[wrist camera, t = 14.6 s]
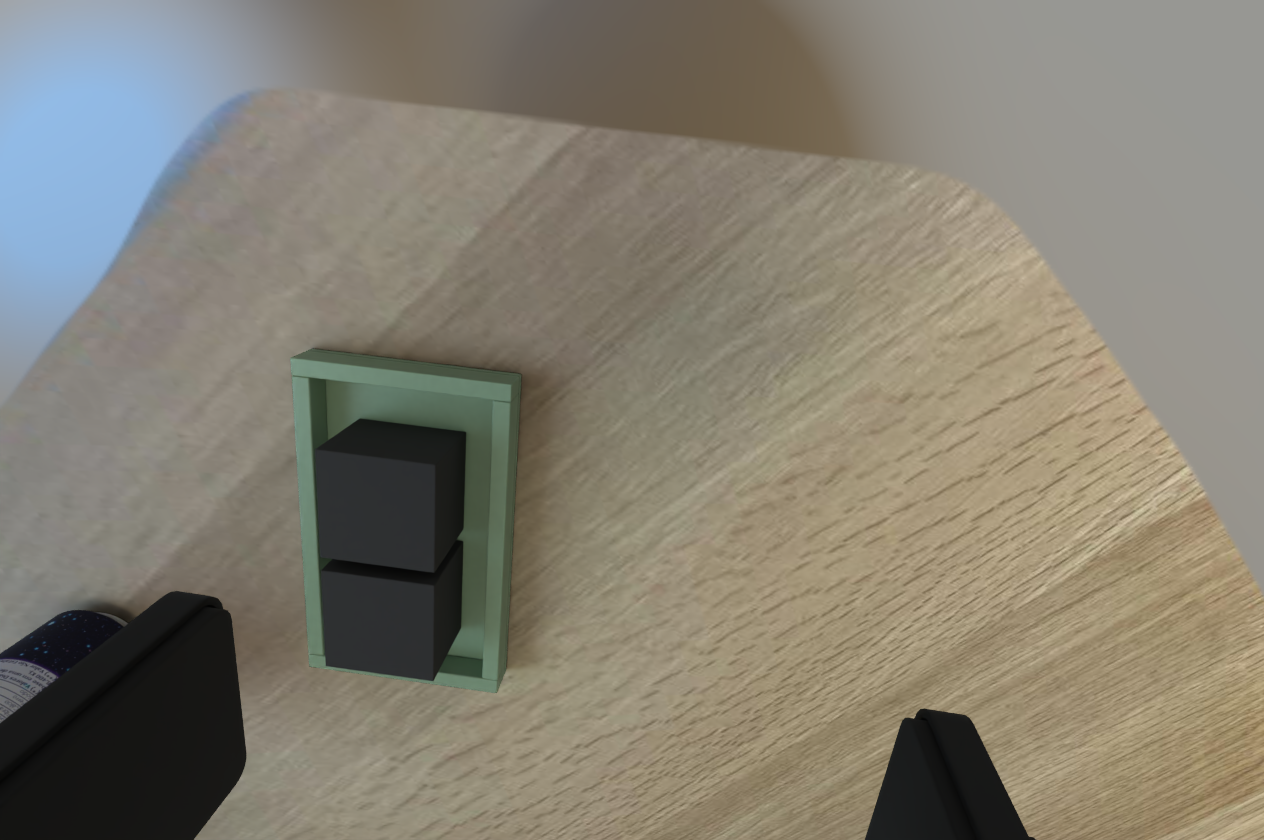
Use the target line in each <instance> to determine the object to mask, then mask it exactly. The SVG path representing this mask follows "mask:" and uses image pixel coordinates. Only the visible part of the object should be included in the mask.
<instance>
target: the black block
mask: <svg viewBox="0 0 1264 840" xmlns="http://www.w3.org/2000/svg"><path fill="white" fill-rule="evenodd" d="M462 575H463V541H460V540H456V541H455V543H454V544H453V546H452V547H451V549H450V550H449V552H448V553H447V555H446V556H445V558H444V559H443V561H442V562H441V564H440V565H439V567H438V568H437V570H436V571H435V572H434V573H432V572H425V571H417V570H410V569H403V568H395V567H388V566H381V565H373V564H366V563H359V562H351V561H344V560H337V559H332V560H331V561H330V562H329V563H328V564H327V565H326V566H325V567H324V568H323V569H322V570H321V583H322V603H323V623H324V643H325V662H326V666H329V667H336V668H343V669H350V670H357V671H364V672H371V673H378V674H385V675H392V676H399V677H406V678H413V679H421V680H428V681H434V679H435V677H436V675H437V673H438V671H439V669H440V668H441V666H442V664H443V662H444V660H445V658H446V656H447V654H448V652H449V650H450V648H451V646H452V644H453V643H454V641H455V639H456V637H457V635H458V633H459V631H460V629H461V614H462Z"/></svg>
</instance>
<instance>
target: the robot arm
mask: <svg viewBox="0 0 1264 840" xmlns="http://www.w3.org/2000/svg"><path fill="white" fill-rule="evenodd" d="M245 762H246V746H245V737H244V727H243V718H242V709H241V700H240V691H239V682H238V673H237V664H236V654H235V645H234V636H233V627H232V619H231V615H230V613H229V612H228V611H227V610H224V609H223V607H222V603H221V602H220V601H219V599H218V598H215V597H211V596H205V595H198V594H192V593H186V592H179V591H175V592H170V593H168V594H166V595H165V596H163V597H162V598H160V599H159V600H158V601H157V602H155V603H154V604H153V605H151V606H150V607H149V608H148V609H146V610H145V611H144V612H142V613H141V614H140V615H139V616H137V617H136V618H135V619H133V620H132V621H131V622H130V623H128V624H127V625H126V626H124V627H123V628H122V629H121V630H119V631H118V632H117V633H115V634H114V635H113V636H112V637H110V638H109V639H108V640H106V641H105V642H104V643H103V644H101V645H100V646H99V647H97V648H96V649H95V650H94V651H92V652H91V653H90V654H88V655H87V656H86V657H85V658H83V659H82V660H81V661H79V662H78V663H77V664H76V665H74V666H73V667H72V668H71V669H69V670H68V671H67V672H65V673H64V674H63V675H62V676H60V677H59V678H58V679H56V680H55V681H54V682H53V683H51V684H50V685H49V686H47V687H46V688H45V689H44V690H42V691H41V692H40V693H38V694H37V695H36V696H35V697H33V698H32V699H31V700H29V701H28V702H27V703H26V704H24V705H23V706H22V707H20V708H19V709H18V710H17V711H15V712H14V713H13V714H11V715H10V716H9V717H8V718H6V719H5V720H4V721H2V722H1V723H0V840H194V838H195V837H196V836H197V834H198V833H199V832H200V831H201V829H202V828H203V827H204V825H205V824H206V823H207V821H208V820H209V819H210V818H211V816H212V815H213V814H214V812H215V811H216V810H217V808H218V807H219V806H220V805H221V803H222V802H223V801H224V799H225V798H226V797H227V795H228V794H229V793H230V792H231V790H232V789H233V788H234V786H235V785H236V783H237V782H238V780H239V779H240V777H241V775H242V772H243V769H244V767H245ZM865 840H1036V839H1035V838H1033V837H1029V836H1028V834H1027V832H1026V830H1025V828H1024V826H1023V824H1022V822H1021V820H1020V818H1019V816H1018V814H1017V812H1016V810H1015V808H1014V806H1013V804H1012V802H1011V800H1010V798H1009V796H1008V794H1007V792H1006V789H1005V787H1004V785H1003V783H1002V781H1001V779H1000V777H999V775H998V773H997V771H996V769H995V767H994V765H993V763H992V761H991V759H990V757H989V755H988V753H987V751H986V749H985V747H984V744H983V742H982V740H981V738H980V736H979V734H978V732H977V730H976V728H975V726H974V724H973V723H972V721H971V720H970V718H969V717H967V716H966V715H961V714H955V713H948V712H942V711H936V710H929V709H920V710H919V711H918V712H917V714H916V716H915V718H914V719H912V718H905V719H904V720H903V721H902V723H901V726H900V729H899V732H898V735H897V738H896V742H895V745H894V748H893V751H892V754H891V758H890V761H889V764H888V767H887V770H886V774H885V777H884V780H883V783H882V787H881V790H880V793H879V796H878V799H877V803H876V806H875V809H874V812H873V815H872V819H871V822H870V825H869V828H868V832H867V835H866V838H865Z"/></svg>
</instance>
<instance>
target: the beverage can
mask: <svg viewBox="0 0 1264 840" xmlns="http://www.w3.org/2000/svg"><path fill="white" fill-rule="evenodd" d="M127 624H128V623H127V622H125V621H124V620H122V619H120V618H118V617H116V616H114V615H111V614H107V613H101V612H92V611H85V610H72V611H67V612H64V613H61V614H59V615H57V616H55V617H54V618H53V619H51V620H50V621H48V622H47V623H45V624H44V625H42V626H41V627H39V628H38V629H36V630H35V631H33V632H32V633H30V634H29V635H27V636H26V637H24V638H23V639H21V640H20V641H18V642H17V643H16V644H14V645H13V646H11V647H10V648H8V649H7V650H5V651H4V652H2V653H1V654H0V723H1V722H2V721H4V720H5V719H6V718H8V717H9V716H10V715H11V714H13V713H14V712H15V711H17V710H18V709H19V708H20V707H22V706H23V705H24V704H26V703H27V702H28V701H29V700H31V699H32V698H33V697H35V696H36V695H37V694H38V693H40V692H41V691H42V690H44V689H45V688H46V687H47V686H49V685H50V684H51V683H53V682H54V681H55V680H56V679H58V678H59V677H60V676H62V675H63V674H64V673H65V672H67V671H68V670H69V669H71V668H72V667H73V666H74V665H76V664H77V663H78V662H79V661H81V660H82V659H83V658H85V657H86V656H87V655H88V654H90V653H91V652H92V651H94V650H95V649H96V648H97V647H99V646H100V645H101V644H103V643H104V642H105V641H106V640H108V639H109V638H110V637H112V636H113V635H114V634H115V633H117V632H118V631H119V630H121V629H122V628H123V627H124V626H126V625H127Z"/></svg>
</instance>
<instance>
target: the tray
mask: <svg viewBox="0 0 1264 840" xmlns="http://www.w3.org/2000/svg"><path fill="white" fill-rule="evenodd" d="M291 374H292V375H293V376H292V388H293V404H294V421H295V438H296V454H297V471H298V488H299V504H300V521H301V538H302V554H303V571H304V587H305V604H306V621H307V637H308V653H309V666H310V667H315V668H322V669H329V670H336V671H343V672H350V673H358V674H365V675H372V676H379V677H386V678H393V679H400V680H407V681H414V682H421V683H428V684H435V685H442V686H449V687H456V688H464V689H471V690H478V691H485V692H492V693H497V692H498V689H499V686H500V684H501V681H502V679H503V676H504V674H505V671H506V661H507V642H508V623H509V604H510V585H511V566H512V547H513V528H514V508H515V489H516V470H517V451H518V432H519V413H520V394H521V374H517V373H509V372H501V371H492V370H484V369H476V368H468V367H459V366H451V365H443V364H435V363H427V362H418V361H410V360H402V359H394V358H385V357H377V356H369V355H361V354H352V353H344V352H336V351H328V350H320V349H310V350H308V351H306V352H303V353H301V354H298V355H296V356H294V357H291ZM360 418H361V419H369V420H376V421H384V422H392V423H400V424H408V425H416V426H423V427H431V428H439V429H447V430H455V431H463V432H466V460H465V495H464V529H463V530H462V532H461V534H460V535H459V537H458V538H457V540H460V541H463V575H462V614H461V629H460V631H459V633H458V635H457V637H456V639H455V641H454V643H453V644H452V646H451V648H450V650H449V652H448V654H447V656H446V658H445V660H444V662H443V664H442V666H441V668H440V669H439V671H438V673H437V675H436V677H435V679H434V681H428V680H421V679H413V678H406V677H399V676H392V675H385V674H378V673H371V672H364V671H357V670H350V669H343V668H336V667H329V666H326V662H325V643H324V623H323V603H322V583H321V570H322V569H323V568H324V567H325V566H326V565H327V564H328V563H329V562H330V561H331V560H332V559H329V558H322V557H320V542H319V521H318V500H317V480H316V459H315V449H316V448H318V447H319V446H321V445H322V444H323V443H325V442H326V441H328V440H329V439H331V438H332V437H334V436H335V435H336V434H338V433H339V432H341V431H342V430H344V429H345V428H346V427H348V426H349V425H351V424H352V423H354V422H355V421H357V420H358V419H360Z"/></svg>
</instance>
